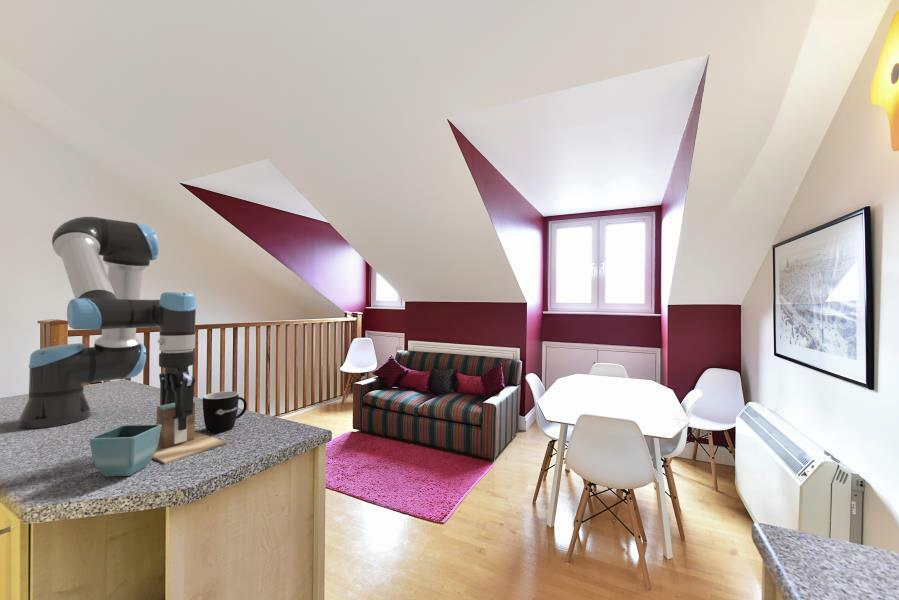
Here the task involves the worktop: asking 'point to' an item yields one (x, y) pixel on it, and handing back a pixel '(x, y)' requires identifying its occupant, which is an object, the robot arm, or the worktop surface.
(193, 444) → the mat
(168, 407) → the block
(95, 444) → the flower pot
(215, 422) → the mug
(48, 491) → the worktop surface
